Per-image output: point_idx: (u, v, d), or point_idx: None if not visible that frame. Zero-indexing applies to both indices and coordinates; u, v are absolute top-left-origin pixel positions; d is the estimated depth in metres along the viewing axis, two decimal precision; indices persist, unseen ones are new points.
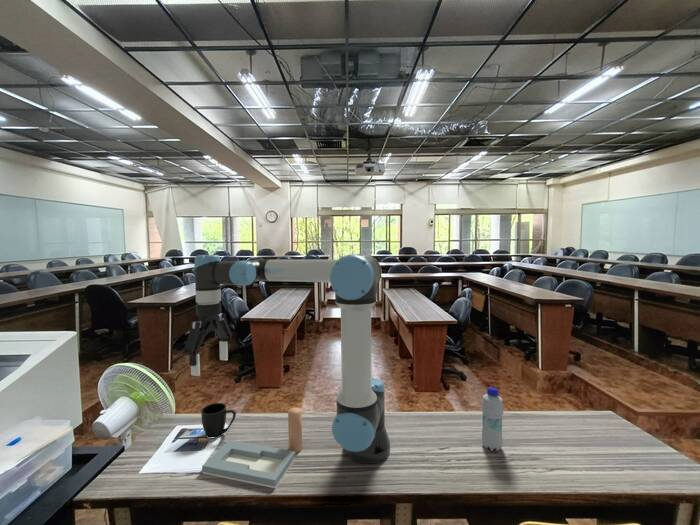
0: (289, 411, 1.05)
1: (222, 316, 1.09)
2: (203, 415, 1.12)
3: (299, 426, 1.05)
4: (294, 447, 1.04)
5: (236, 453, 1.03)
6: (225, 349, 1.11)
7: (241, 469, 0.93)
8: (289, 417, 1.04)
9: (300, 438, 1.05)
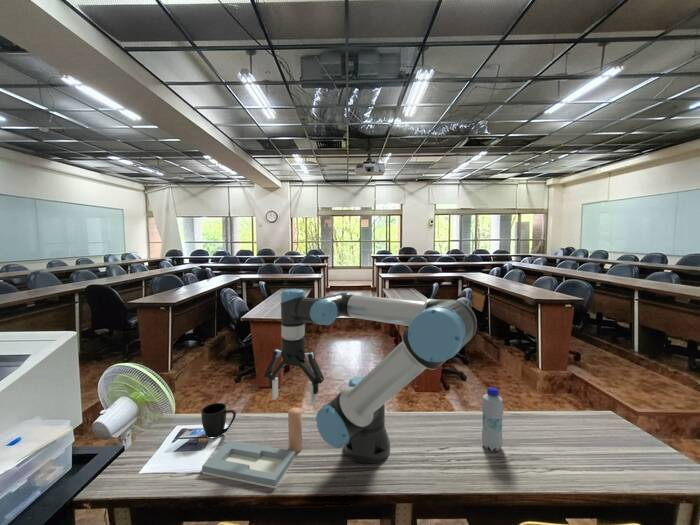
0: (289, 411, 1.05)
1: None
2: (203, 415, 1.12)
3: (299, 426, 1.05)
4: (294, 447, 1.04)
5: (236, 453, 1.03)
6: None
7: (241, 469, 0.93)
8: (289, 417, 1.04)
9: (300, 438, 1.05)
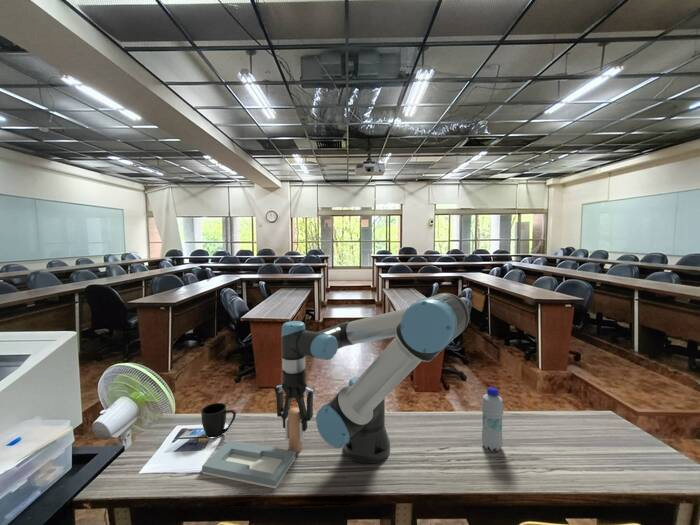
0: (289, 411, 1.06)
1: (308, 392, 1.03)
2: (203, 415, 1.12)
3: None
4: (294, 447, 1.04)
5: (236, 453, 1.03)
6: None
7: (241, 469, 0.93)
8: (289, 417, 1.04)
9: None
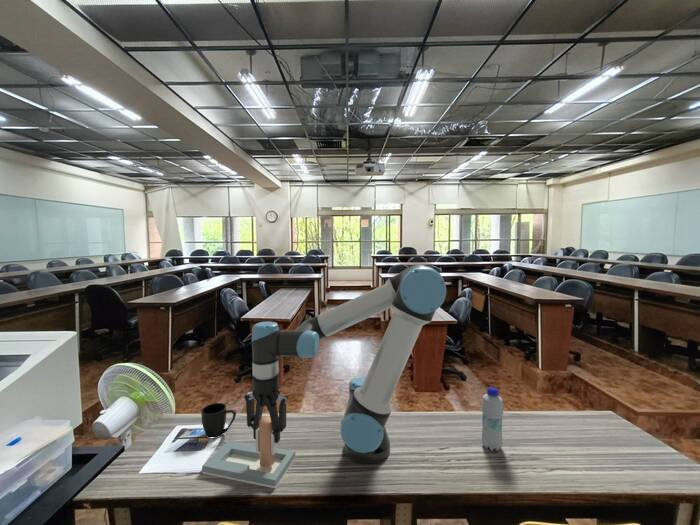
0: (260, 421, 0.96)
1: None
2: (203, 415, 1.12)
3: None
4: (265, 460, 0.95)
5: (236, 453, 1.03)
6: None
7: (241, 469, 0.93)
8: (260, 427, 0.95)
9: None
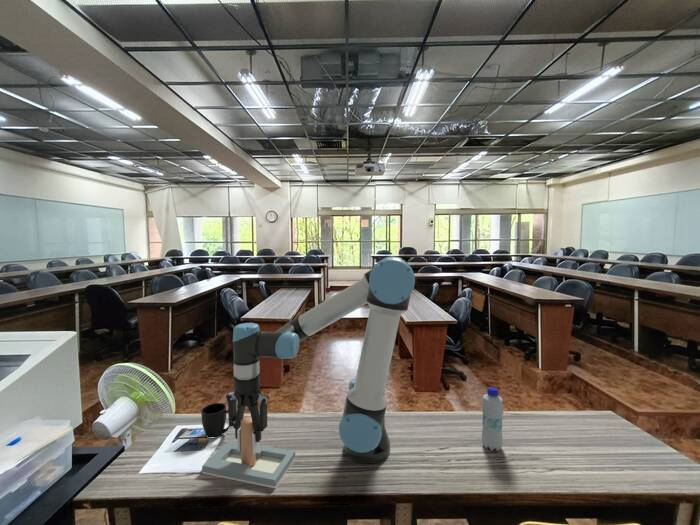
0: (242, 421, 0.98)
1: None
2: (203, 415, 1.12)
3: None
4: (247, 460, 0.96)
5: (236, 453, 1.03)
6: None
7: (241, 469, 0.93)
8: (241, 427, 0.97)
9: None
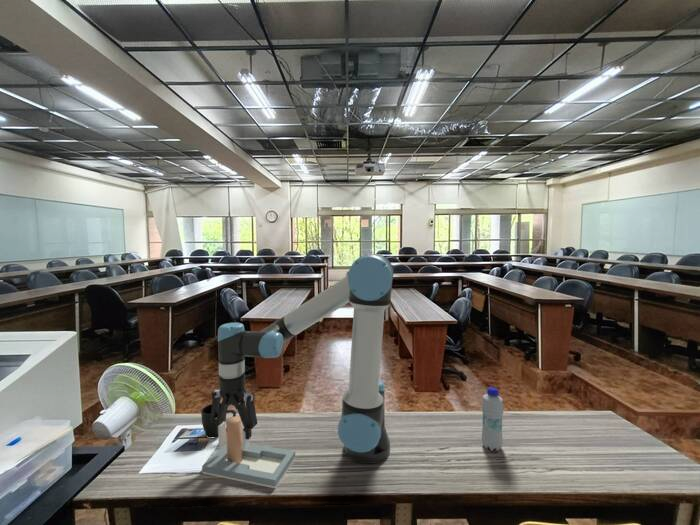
0: (227, 421, 0.99)
1: None
2: (203, 415, 1.12)
3: (237, 437, 0.98)
4: (232, 459, 0.98)
5: None
6: None
7: (241, 469, 0.93)
8: (227, 427, 0.98)
9: (239, 449, 0.99)
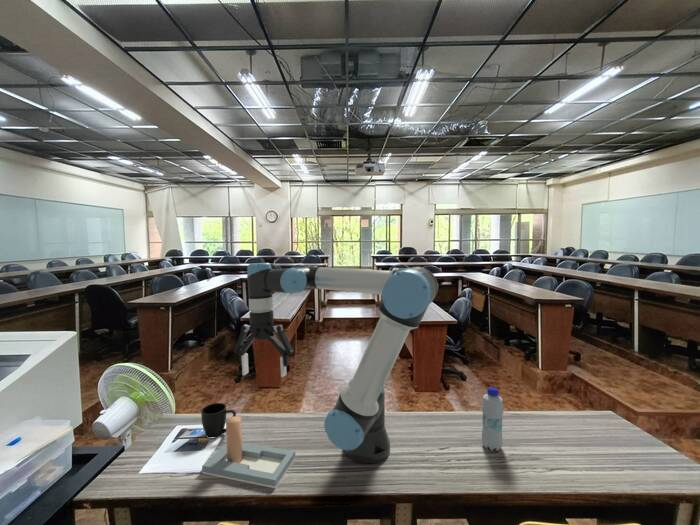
0: (227, 420, 0.99)
1: None
2: (203, 415, 1.12)
3: (237, 436, 0.98)
4: (232, 459, 0.98)
5: None
6: None
7: (241, 469, 0.93)
8: (227, 427, 0.98)
9: (239, 449, 0.99)
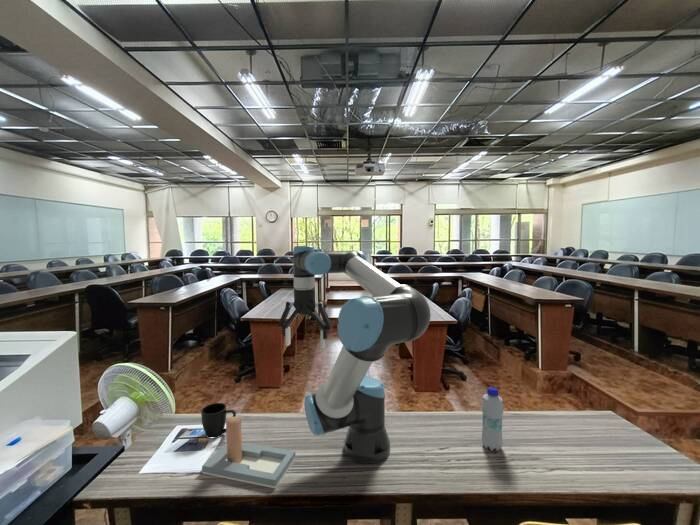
0: (227, 421, 0.99)
1: None
2: (203, 415, 1.12)
3: (238, 437, 0.98)
4: (232, 459, 0.98)
5: None
6: None
7: (241, 469, 0.93)
8: (227, 427, 0.98)
9: (239, 449, 0.99)
